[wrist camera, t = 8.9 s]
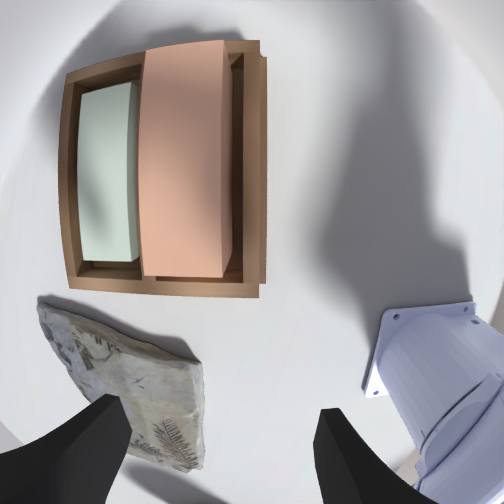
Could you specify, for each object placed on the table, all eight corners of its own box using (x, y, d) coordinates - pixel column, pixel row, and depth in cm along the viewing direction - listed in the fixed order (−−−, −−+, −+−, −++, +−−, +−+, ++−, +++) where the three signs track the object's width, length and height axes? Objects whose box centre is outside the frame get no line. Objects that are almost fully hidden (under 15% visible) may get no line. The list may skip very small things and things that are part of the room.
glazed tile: (144, 91, 14) (131, 82, 12) (144, 252, 16) (131, 261, 14) (98, 101, 14) (82, 94, 12) (99, 252, 16) (83, 260, 15)
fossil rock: (208, 462, 23) (206, 478, 21) (86, 430, 23) (78, 443, 21) (205, 328, 19) (198, 346, 17) (43, 299, 19) (27, 309, 17)
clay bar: (233, 79, 14) (223, 39, 9) (233, 249, 16) (222, 277, 11) (176, 83, 14) (146, 49, 9) (176, 248, 16) (144, 275, 11)
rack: (266, 62, 14) (267, 40, 11) (265, 279, 17) (266, 298, 14) (85, 86, 14) (62, 75, 12) (88, 273, 18) (64, 287, 15)
